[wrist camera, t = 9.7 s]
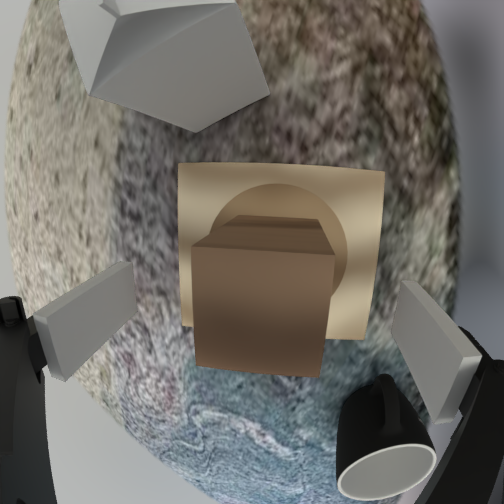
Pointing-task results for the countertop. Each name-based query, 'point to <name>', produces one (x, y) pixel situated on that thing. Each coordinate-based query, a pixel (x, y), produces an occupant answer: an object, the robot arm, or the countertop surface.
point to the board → (294, 206)
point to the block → (262, 295)
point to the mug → (381, 443)
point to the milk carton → (166, 57)
